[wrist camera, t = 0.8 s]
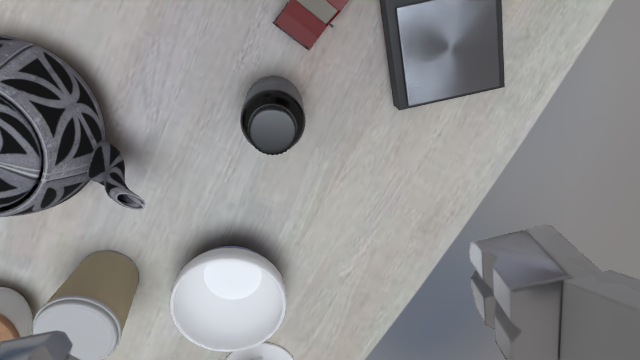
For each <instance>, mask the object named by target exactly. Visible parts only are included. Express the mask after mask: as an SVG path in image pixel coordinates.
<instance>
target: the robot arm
mask: <svg viewBox="0 0 640 360" xmlns="http://www.w3.org/2000/svg"><path fill="white" fill-rule="evenodd" d="M469 256H470V261H471V262H472V264H473V265H474V267H475V268H476V271H475V272H474V274H473V275H472V277H471V283H472V293H473V296H474V300H475V304H476V307H477V309H478V311H479V314H480V316H481V318H482V319H483V321H484V323H485V325H487V326H489V327H491V328H493V329H495V340H496V344H497V345H498V347H499V348H500V350H501V352H502V354H503V355H504V357H505V359H506V360H640V280H639V279H636V278H633V277H630V276H627V275H624V274H621V273H617V272H614V271H612V270H609V271H604V272H602V271H601V270H600V269H599V268H597V267H596V266H595V265H594V264H593V263H592V262H591V261H590V260H589V259H587V258H586V257H585V256H584V255H583V254H582V253H581V252H580V251H579V250H578V249H577V248H576V247H574V246H573V245H572V244H571V243H570V242H569V241H568V240H567V239H565V238H564V237H563V236H562V235H561V234H560V233H559V232H558V231H557V230H556V229H555V228H554V227H553V226H551V225H548V224H543V225H539V226H535V227H532V228H527V229H523V230H521V231H519V232H514V233H509V234H505V235H500V236H496V237H491V238H487V239H482V240H477V241H473V242H470V247H469ZM72 346H73V344H72V342H71V341H70V339H69V338H68V336H67V334H66V333H65V332H62V331H58V330H55V331H50V332H45V333H39V334H34V335H29V336H24V337H19V338H13V339H8V340H4V341H0V360H80V359H78V358H76V357H74V356H72V355H71V354H70V353H71V350H72Z"/></svg>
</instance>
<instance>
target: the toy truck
mask: <svg viewBox="0 0 640 360" xmlns="http://www.w3.org/2000/svg"><path fill="white" fill-rule="evenodd" d="M347 2H348V0H290V1H289V2H288V3H287V5H286V6H285V8H284V9H283V11H282V12H281V14H280V15H279V16H278V17H277V18H276V20H275V21H274V22H273V24H275V25H276V26H277V27H278V28H280V29H281V30H282V31H284V32H285V33H286V34H288V35H289V36H290V37H292V38H293V39H294V40H296V41H297V42H298V43H299V44H301V45H302V46H303V47H305V48H306V49H307V50H310V48H311V47H312V46H313V44H314V43H315V42H316V40H317V39H318V38H319V36H320V35H321V34H322V32H323V31H324V30H325V28H326V27H327V26H328V25H330V26H331V27H332V28H333V25H332V24H330V22H331V21H332V20H333V19H334V18H335V17H336V16H337V15H338V14H339V13H340V11H341V10H342V9H343V7H344V6H345V5H346V3H347Z"/></svg>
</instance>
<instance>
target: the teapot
mask: <svg viewBox="0 0 640 360" xmlns="http://www.w3.org/2000/svg"><path fill="white" fill-rule="evenodd" d="M91 179H92V180H94V181H96V182H98V183H100V184H102V185H104V186H105V189H106V192H107V194H108V196H109V197H110V198H111V199H113V200H114V201H115V202H117V203H118V204H120V205H122V206H124V207H127V208H131V209H143V208H145V206H146V204H145V202H144V201H143V199H141V198H140V197H139V196H138V195H136V194H135V193H133V192H132V191H130V190H129V189H128V187H127V186H126V184H125V165H124V160H123V157H122V155H121V154H120V152H119V151H118V150H117V149H116V148H115V147H114V146H113V145H111V144H110V143H108V142H106V141H105V129H104V122H103V118H102V114H101V111H100V108H99V105H98V103H97V101H96V99H95V97H94V95H93V93H92V92H91V90H90V88H89V87H88V86H87V84H86V83H85V82H84V80H83V79H82V78H81V77H80V76H79V75H78V74H77V72H75V71H74V70H73V69H72V68H71V67H70V66H69V65H68V64H66V63H65V62H64V61H63V60H61V59H60V58H58V57H57V56H55V55H54V54H52V53H51V52H49V51H47V50H45V49H43V48H41V47H39V46H37V45H34V44H32V43H30V42H27V41H23V40H20V39H16V38H12V37H7V36H1V35H0V217H7V216H17V215H25V214H30V213H34V212H39V211H42V210H45V209H48V208H51V207H54V206H56V205H58V204H60V203H62V202H64V201H66V200H68V199H69V198H71V197H72V196H74V195H75V194H77V193H78V192H79V191H80V190H81V189H82V188H83V187H84V186H85V185H86V184H87V183H88V182H89V181H90V180H91Z"/></svg>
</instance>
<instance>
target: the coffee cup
mask: <svg viewBox="0 0 640 360" xmlns="http://www.w3.org/2000/svg"><path fill="white" fill-rule="evenodd" d="M138 281H139V273H138V270H137V267H136V266H135V264H134V263H133V262H132V261H131V260H130V259H129V258H128V257H126V256H125V255H123V254H121V253H118V252H114V251H99V252H96V253H93V254H91V255H89V256H88V257H87V258H86V259H85V260H84V261H83V262H82V263H81V264H80V265H79V266H78V267H77V268H76V269H75V271H74V272H73V273H72V274H71V275H70V276H69V277H68V279H67V280H66V281H65V282H64V283H63V284H62V286H61V287H60V288H59V289H58V290H57V291H56V293H55V294H54V295H53V296H52V297H51V298H50V300H49V301H48V302H47V303H46V304H45V305H44V306H43V307H42V308H41V309H40V310H39V311H38V312H37V314H36V316H35V318H34V321H33V335H34V334H39V333H45V332H50V331H55V330H58V331H62V332H65V333H66V334H67V336H68V338H69V339H70V341H71V342H72V344H73V346H72V350H71V353H70V354H71V355H72V356H74V357H76V358H78V359H80V360H103V359H105V358H106V357H108V356H109V355H110V354H112V353H113V352H114V351H115V349H116V348H117V346H118V345H119V342H120V339H121V335H122V331H123V328H124V325H125V322H126V319H127V316H128V313H129V310H130V307H131V304H132V301H133V298H134V295H135V292H136V289H137V285H138Z"/></svg>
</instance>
